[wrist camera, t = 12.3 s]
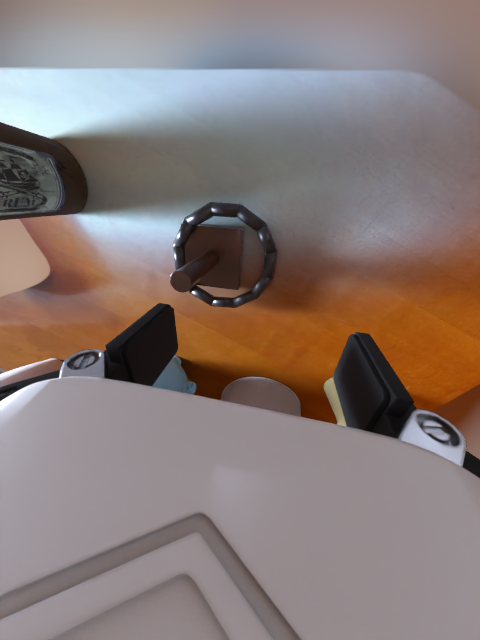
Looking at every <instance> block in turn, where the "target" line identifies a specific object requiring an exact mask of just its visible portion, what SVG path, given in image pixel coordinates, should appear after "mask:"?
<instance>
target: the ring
mask: <svg viewBox="0 0 480 640" xmlns="http://www.w3.org/2000/svg"><path fill="white" fill-rule="evenodd" d="M213 216H223V217H237V218H239V219H240V220H241V221H243V222H244V223H245V224H247V225H248V226H250V227H251V228H252V229H254V230H255V231H256V232H257V234H258V236H259V238H260V241H261V243H262V246H263V248H264V250H265V253H266V254H265V263H264V271H263V275H262V276H261V278H260V279H259V281H258V282H257V283H256V285H255V286H254V287H253V289H252V290H251V291H249V292H246V293H244V294H242V295H240V296H237V297H235V298H226V297H214V296H213V295H211V294H209V293H208V292H206V291H204V290H203V289H201V288H199V287H198V286H197V285H196V284H195V285H194V286H193V287H192V288H191V289H190V290H188V291H189V292H190V293H191V294H192V295H194V296H195V297H197V298H199V299H201V300H202V301H204V302H206V303H207V304H209V305H211V306H218V307H231V308H236V307H238V306H241V305H243V304H245V303H248V302H250V301H252V300H255V299H257V298H258V297H259V296H260V294H261V293H262V292H263V291H264V289H265V288H266V287H267V285H268V284H269V283H270V282H271V280H272V279H273V275H274V268H275V262H276V255H277V250H276V247H275V245H274V242H273V239H272V237H271V234H270V232H269V229H268V227H267V224H266V223H265V222H264V221H263V220H261V219H260V218H259V217H257V216H256V215H255V214H253V213H252V212H251V211H250V210H248V209H247V208H246V207H244V206H243V205H241V204H231V203H217V202H210V203H208V204H207V205H205V206H203V207H202V208H200V209H198V210H197V211H195V212H193V213H192V214H190V215H188V216H187V217H185V219H184V221H183V223H182V225H181V227H180V230H179V232H178V234H177V236H176V238H175V240H174V243H173V249H174V259H175V269H176V270H178V269H179V268H181V267H183V266H184V265H186V260H185V245H186V243H187V241H188V239H189V237H190V235H191V233H192V231H193V229H194V227H196V226H197V225H199V224H201V223H202V222H204V221H206V220H208V219H209V218H211V217H213Z"/></svg>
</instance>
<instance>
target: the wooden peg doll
mask: <svg viewBox="0 0 480 640" xmlns="http://www.w3.org/2000/svg"><path fill="white" fill-rule="evenodd" d="M324 391H325V393H326V396H327V398H328V400H329V403H330V405H331V407H332V410H333V412H334V414H335V417H336V419H337V422H338V423H337V425H341V426H346V422H345V419H344V415H343V412H342V408H341V405H340V401H339V398H338V394H337V391H336V387H335V384H334V380H333V377H332V378H330V379H329V380H327V381H326V382H325V384H324ZM346 427H347V426H346Z"/></svg>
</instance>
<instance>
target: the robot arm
mask: <svg viewBox="0 0 480 640" xmlns="http://www.w3.org/2000/svg"><path fill="white" fill-rule="evenodd" d="M105 346H106V350H105V351H104V352H102V351H101V350H98V349H87V350H83V351H79V352H77V353H75V354H73V355H71V356H70V357H68V358H67V359H66V360H65V361H64V362H63V364H62V367H61V370H57V371H54V372H50V373H47V374H43V375H40V376H36V377H33V378H29V379H26V380H22V381H19V382H15V383H12V384H9V385H5V386H2V387H0V640H480V460H479V459H478V458H476V457H475V456H473V455H472V454H470V453H469V452H467V451H466V447H467V445H466V440H465V438H464V436H463V435H462V433H461V432H460V431H459V430H458V429H457V428H456V427H455V426H454V425H453V424H452V423H450V422H449V421H447V420H446V419H445V418H443V417H441V416H439V415H437V414H435V413H433V412H430V411H427V410H421V409H419V410H417V409H416V407H415V406H414V404H413V403H414V401H413V399H412V398H411V396H410V395H409V393H408V392H407V390H406V389H405V387H404V386H403V384H402V383H401V381H400V380H399V378H398V377H397V375H396V373H395V372H394V370H393V369H392V367H391V366H390V364H389V363H388V361H387V360H386V358H385V357H384V355H383V354H382V352H381V351H380V349H379V348H378V346H377V345H376V343H375V342H374V340H373V339H372V337H371V336H370V335H369V334H366V333H359V332H355V333H354V334H351V335H350V336H349V338H348V341H347V343H346V345H345V348H344V350H343V353H342V355H341V358H340V360H339V362H338V365H337V367H336V370H335V372H334V376H333V380H334V384H335V387H336V391H337V394H338V398H339V401H340V405H341V408H342V412H343V415H344V419H345V422H346V426H347V427H346V426H341V425H337V424H333V423H328V422H323V421H318V420H314V419H309V418H304V417H299V416H295V415H290V414H285V413H280V412H275V411H271V410H266V409H261V408H256V407H251V406H246V405H241V404H236V403H232V402H227V401H222V400H217V399H212V398H207V397H202V396H197V395H192V394H187V393H182V392H177V391H171V390H166V389H161V388H156V387H152V386H153V384H154V383H155V382H156V380H157V379H158V377H159V376H160V375H161V373H162V372H163V370H164V369H165V368H166V366H167V365H168V363H169V362H170V361H171V359H172V358H173V357H174V355H175V354H176V352H177V350H178V342H177V333H176V325H175V316H174V309H173V308H171V306H170V305H168V304H162V303H159V304H157V305H156V306H155V307H153V308H152V309H151V310H150V311H148V312H147V313H146V314H144V315H143V316H142V317H141V318H139V319H138V320H137V321H136V322H134V323H133V324H132V325H131V326H129V327H128V328H127V329H126V330H124V331H123V332H122V333H121V334H119V335H118V336H117V337H116V338H114V339H113V340H112V341H111V342H109V343H108V344H107V345H105Z"/></svg>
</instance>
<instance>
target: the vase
mask: <svg viewBox="0 0 480 640" xmlns="http://www.w3.org/2000/svg"><path fill="white" fill-rule="evenodd" d="M62 364H63V361H61V360H58V359H48V360H45V361H41V362H37V363H33V364H30V365H26V366H23V367H20V368H17V369H14V370H11V371H8V372H6V373H3V374H0V387H2V386H5V385H9V384H12V383H15V382H19V381H22V380H26V379H29V378H33V377H36V376H40V375H43V374H47V373H50V372H54V371H57V370H61V367H62Z"/></svg>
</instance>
